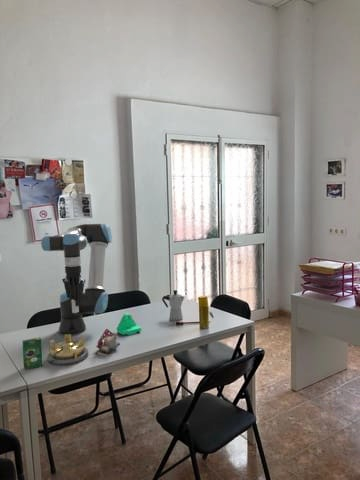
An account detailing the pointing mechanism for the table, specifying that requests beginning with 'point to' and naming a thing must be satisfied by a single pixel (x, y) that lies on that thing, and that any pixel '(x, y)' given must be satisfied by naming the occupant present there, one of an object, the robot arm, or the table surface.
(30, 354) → the coffee box
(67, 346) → the brass finned hub
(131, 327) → the camera mount
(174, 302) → the coffee maker
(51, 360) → the index base
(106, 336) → the brake caliper
